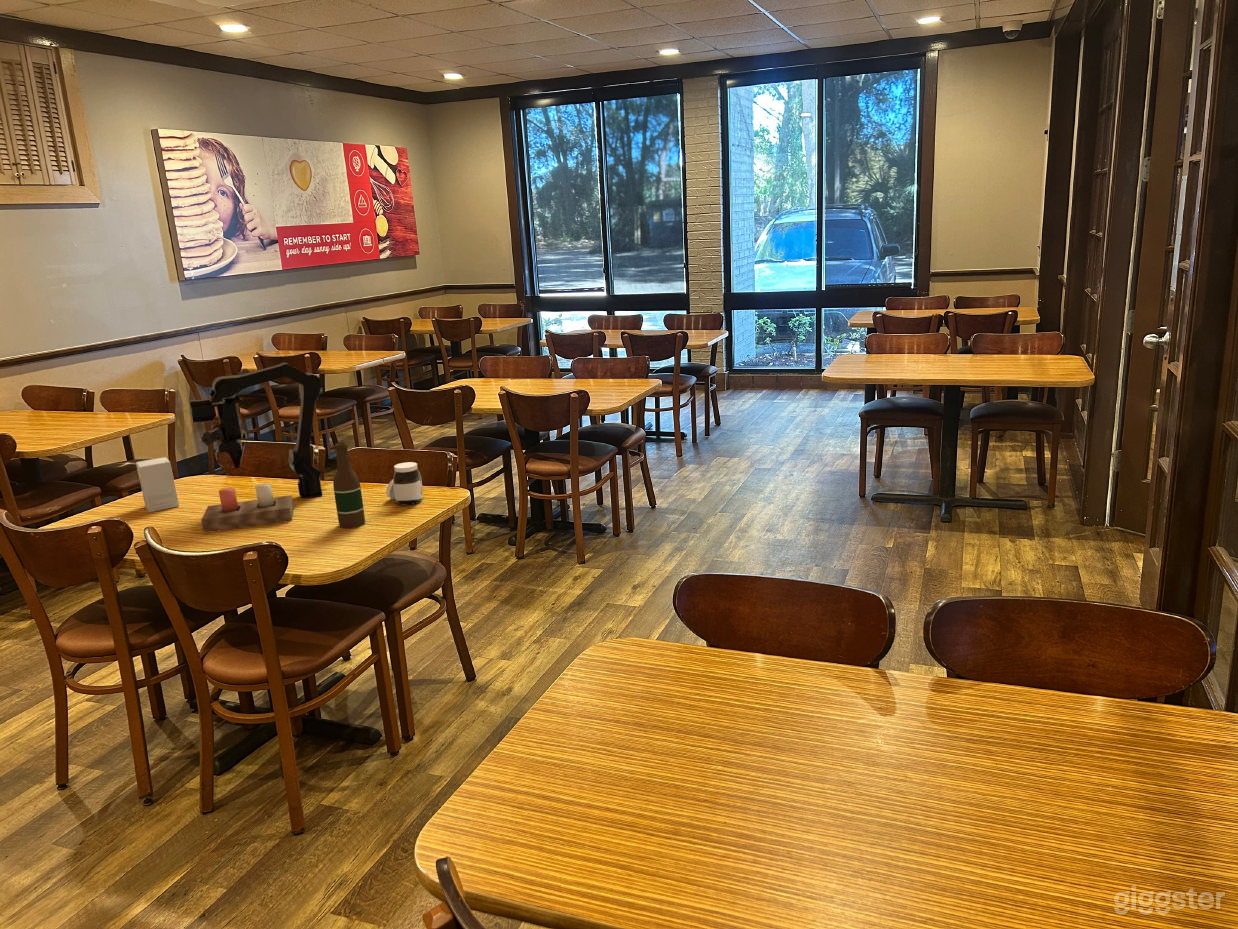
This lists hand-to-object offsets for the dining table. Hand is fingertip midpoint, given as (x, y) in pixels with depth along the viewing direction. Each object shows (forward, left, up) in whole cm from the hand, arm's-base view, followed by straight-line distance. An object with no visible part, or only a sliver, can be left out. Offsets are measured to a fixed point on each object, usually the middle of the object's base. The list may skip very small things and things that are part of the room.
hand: (237, 468), depth 273 cm
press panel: (-3, +14, -13) cm, 19 cm away
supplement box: (+26, -15, -13) cm, 33 cm away
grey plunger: (-8, +14, -9) cm, 18 cm away
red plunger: (+2, +14, -9) cm, 17 cm away
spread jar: (-48, +16, -13) cm, 52 cm away
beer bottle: (-32, +33, -13) cm, 48 cm away
